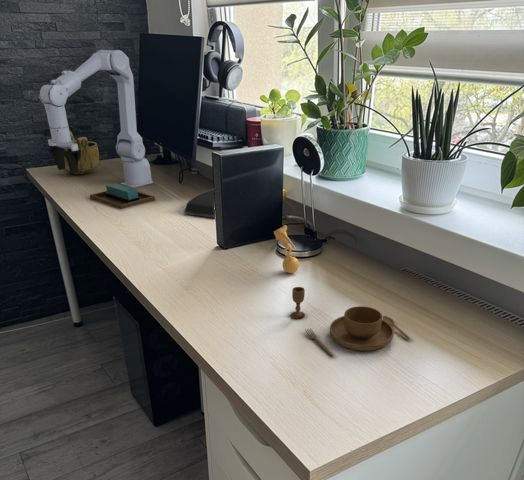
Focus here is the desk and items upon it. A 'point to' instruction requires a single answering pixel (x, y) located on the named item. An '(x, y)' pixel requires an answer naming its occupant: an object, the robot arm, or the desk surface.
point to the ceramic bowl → (84, 156)
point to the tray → (118, 204)
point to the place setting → (354, 326)
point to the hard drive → (201, 205)
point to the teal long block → (121, 193)
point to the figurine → (289, 262)
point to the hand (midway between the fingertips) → (68, 171)
